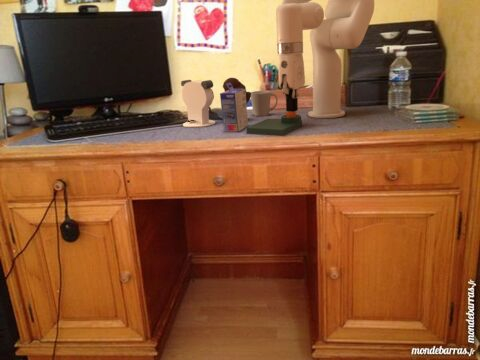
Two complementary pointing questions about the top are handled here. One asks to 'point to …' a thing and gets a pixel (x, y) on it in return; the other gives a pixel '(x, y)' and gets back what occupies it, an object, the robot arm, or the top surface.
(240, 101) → the ink cartridge box
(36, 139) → the top surface
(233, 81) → the ice cream bowl
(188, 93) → the beige round-topped stand
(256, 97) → the cup
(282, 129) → the scale
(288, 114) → the tare button
